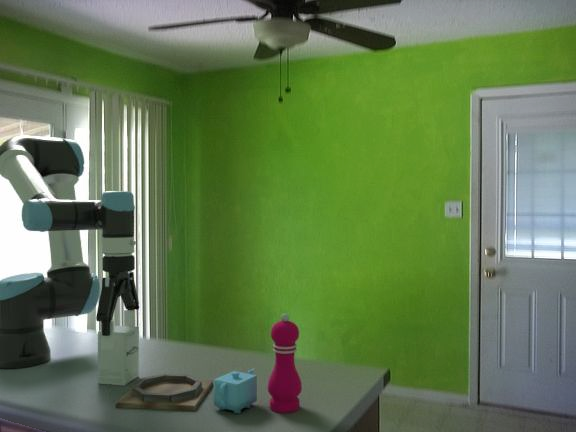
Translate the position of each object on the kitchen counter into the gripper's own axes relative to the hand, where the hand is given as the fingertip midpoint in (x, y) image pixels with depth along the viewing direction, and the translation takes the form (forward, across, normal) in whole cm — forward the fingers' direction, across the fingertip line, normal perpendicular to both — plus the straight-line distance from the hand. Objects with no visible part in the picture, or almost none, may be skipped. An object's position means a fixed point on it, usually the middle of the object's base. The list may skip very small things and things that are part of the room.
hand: (119, 342), depth 134 cm
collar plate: (+10, -9, -15) cm, 19 cm away
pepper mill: (+10, -14, -42) cm, 45 cm away
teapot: (+10, -14, -32) cm, 36 cm away
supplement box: (+10, 0, 0) cm, 10 cm away
